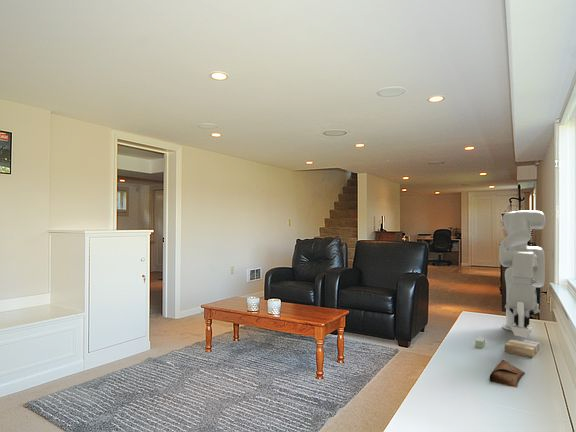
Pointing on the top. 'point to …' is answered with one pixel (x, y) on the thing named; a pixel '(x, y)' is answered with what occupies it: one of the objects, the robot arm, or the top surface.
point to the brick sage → (480, 342)
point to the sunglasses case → (506, 374)
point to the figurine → (521, 322)
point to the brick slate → (533, 342)
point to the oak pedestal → (521, 348)
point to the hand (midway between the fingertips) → (521, 325)
